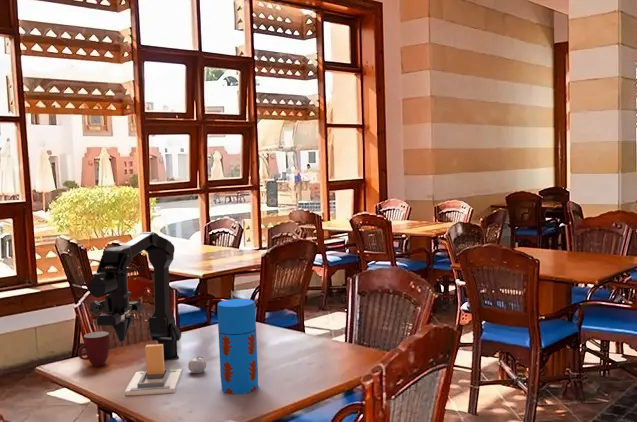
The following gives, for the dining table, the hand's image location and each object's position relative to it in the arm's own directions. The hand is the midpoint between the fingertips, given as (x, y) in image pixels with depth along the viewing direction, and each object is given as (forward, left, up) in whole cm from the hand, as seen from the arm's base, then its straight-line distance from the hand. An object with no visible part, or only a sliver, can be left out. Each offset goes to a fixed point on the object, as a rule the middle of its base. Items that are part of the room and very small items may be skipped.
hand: (121, 341), depth 208 cm
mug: (+6, -23, -13) cm, 27 cm away
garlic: (-22, +2, -13) cm, 26 cm away
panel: (-8, +7, -13) cm, 16 cm away
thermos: (-29, +23, -13) cm, 39 cm away
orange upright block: (-9, +4, -11) cm, 15 cm away
